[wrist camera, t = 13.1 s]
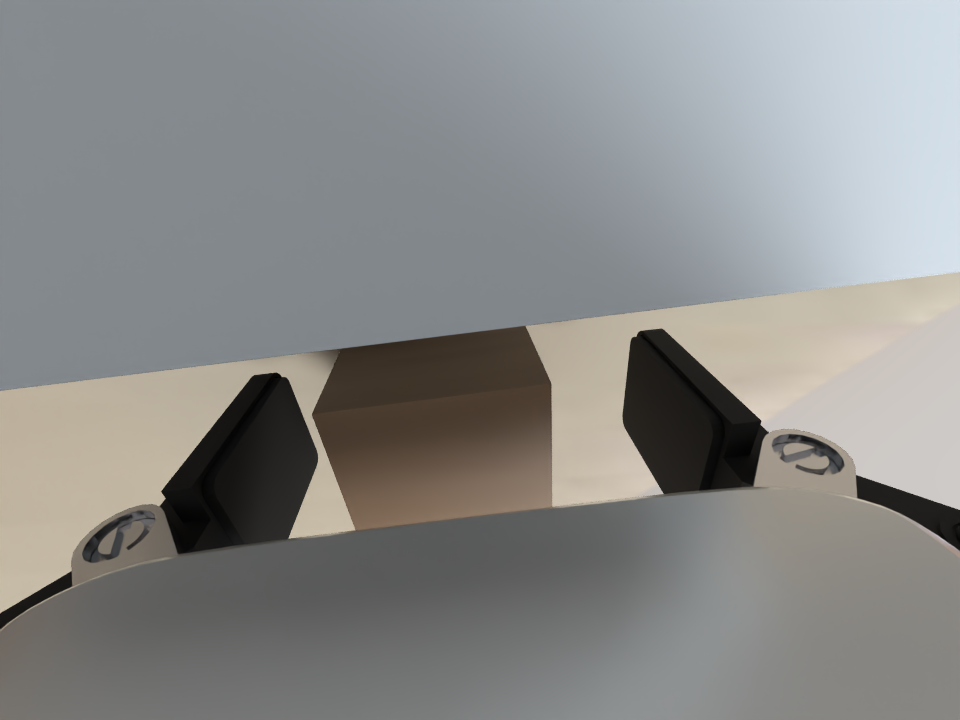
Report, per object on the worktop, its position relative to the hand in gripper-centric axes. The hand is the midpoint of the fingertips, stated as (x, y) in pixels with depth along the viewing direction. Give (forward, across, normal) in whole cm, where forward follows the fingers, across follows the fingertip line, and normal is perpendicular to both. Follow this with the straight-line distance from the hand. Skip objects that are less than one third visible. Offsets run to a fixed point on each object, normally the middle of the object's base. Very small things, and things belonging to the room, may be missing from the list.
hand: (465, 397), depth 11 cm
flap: (-5, +1, -11) cm, 12 cm away
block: (+3, +1, 0) cm, 3 cm away
